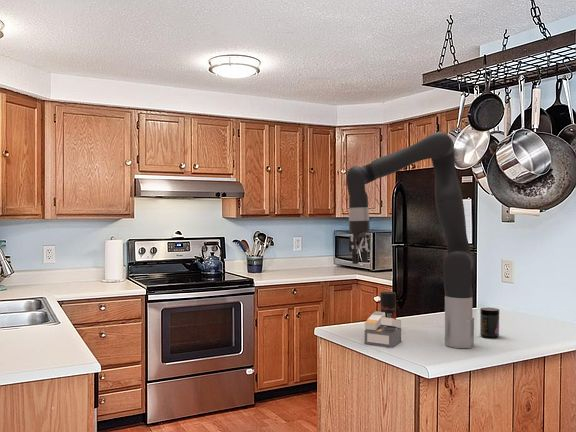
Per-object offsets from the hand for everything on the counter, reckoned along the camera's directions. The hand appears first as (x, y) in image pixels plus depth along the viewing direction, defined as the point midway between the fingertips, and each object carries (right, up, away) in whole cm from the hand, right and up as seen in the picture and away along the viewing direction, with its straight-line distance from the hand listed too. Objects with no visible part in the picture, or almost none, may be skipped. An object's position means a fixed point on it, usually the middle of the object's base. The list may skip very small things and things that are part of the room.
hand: (360, 262), depth 202 cm
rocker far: (+4, -21, -9) cm, 23 cm away
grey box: (+7, -28, -10) cm, 30 cm away
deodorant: (+12, -28, +9) cm, 31 cm away
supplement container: (+48, -28, -1) cm, 56 cm away
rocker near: (+9, -21, -12) cm, 26 cm away
